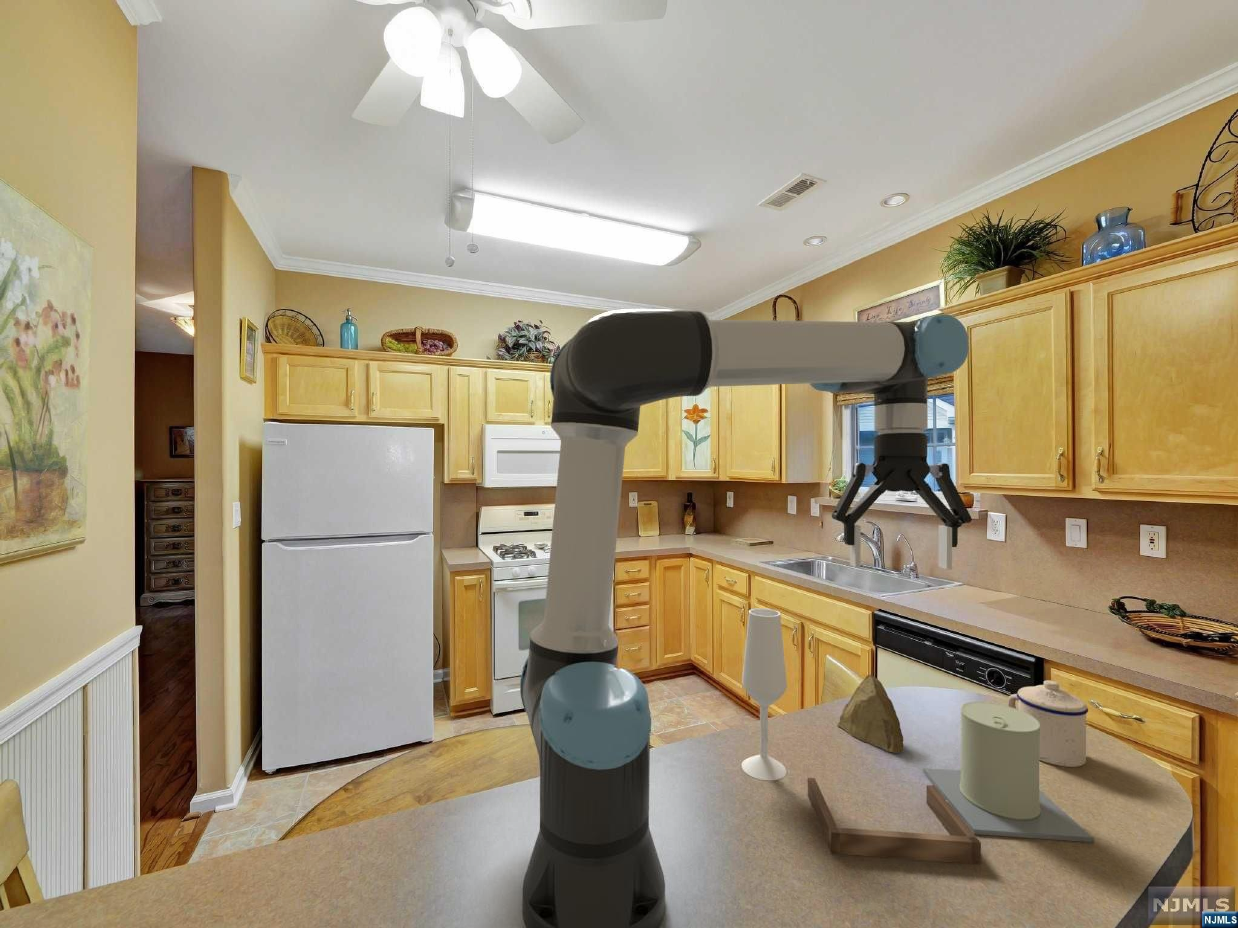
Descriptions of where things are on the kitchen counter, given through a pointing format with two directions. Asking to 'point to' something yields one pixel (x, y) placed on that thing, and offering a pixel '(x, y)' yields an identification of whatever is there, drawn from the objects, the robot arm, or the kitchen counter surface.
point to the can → (1000, 760)
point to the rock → (872, 716)
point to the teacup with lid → (1056, 722)
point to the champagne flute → (764, 683)
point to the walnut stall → (901, 834)
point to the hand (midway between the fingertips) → (899, 567)
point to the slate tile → (982, 822)
